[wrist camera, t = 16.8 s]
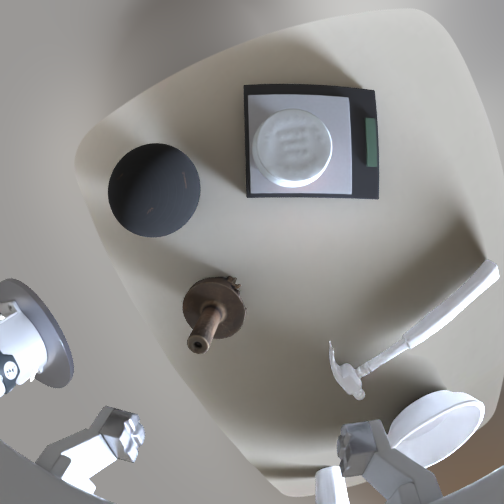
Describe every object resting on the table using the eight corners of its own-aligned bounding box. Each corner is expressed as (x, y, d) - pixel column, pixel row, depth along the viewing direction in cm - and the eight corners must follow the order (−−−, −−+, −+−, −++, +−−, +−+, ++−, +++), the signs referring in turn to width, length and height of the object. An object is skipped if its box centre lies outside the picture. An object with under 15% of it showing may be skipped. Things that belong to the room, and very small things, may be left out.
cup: (342, 476, 47) (348, 522, 33) (309, 479, 47) (311, 527, 34) (349, 461, 45) (357, 512, 31) (313, 465, 45) (316, 517, 32)
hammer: (315, 347, 37) (318, 360, 34) (476, 225, 30) (489, 229, 27) (352, 392, 39) (356, 405, 36) (494, 285, 32) (504, 292, 29)
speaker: (227, 182, 32) (206, 185, 22) (176, 243, 34) (141, 269, 25) (166, 131, 31) (127, 118, 21) (122, 194, 33) (75, 203, 24)
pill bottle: (264, 123, 27) (257, 92, 16) (320, 135, 27) (347, 113, 16) (252, 178, 29) (238, 179, 18) (309, 190, 29) (329, 199, 18)
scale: (248, 196, 32) (246, 198, 30) (245, 90, 29) (243, 83, 26) (373, 197, 31) (380, 199, 28) (369, 94, 27) (376, 88, 25)
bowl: (478, 394, 38) (494, 417, 30) (402, 454, 44) (411, 480, 36) (444, 354, 36) (466, 383, 28) (349, 431, 42) (355, 465, 33)
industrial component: (234, 256, 34) (214, 297, 23) (261, 304, 36) (254, 361, 24) (173, 285, 36) (133, 331, 24) (200, 329, 37) (174, 385, 26)
